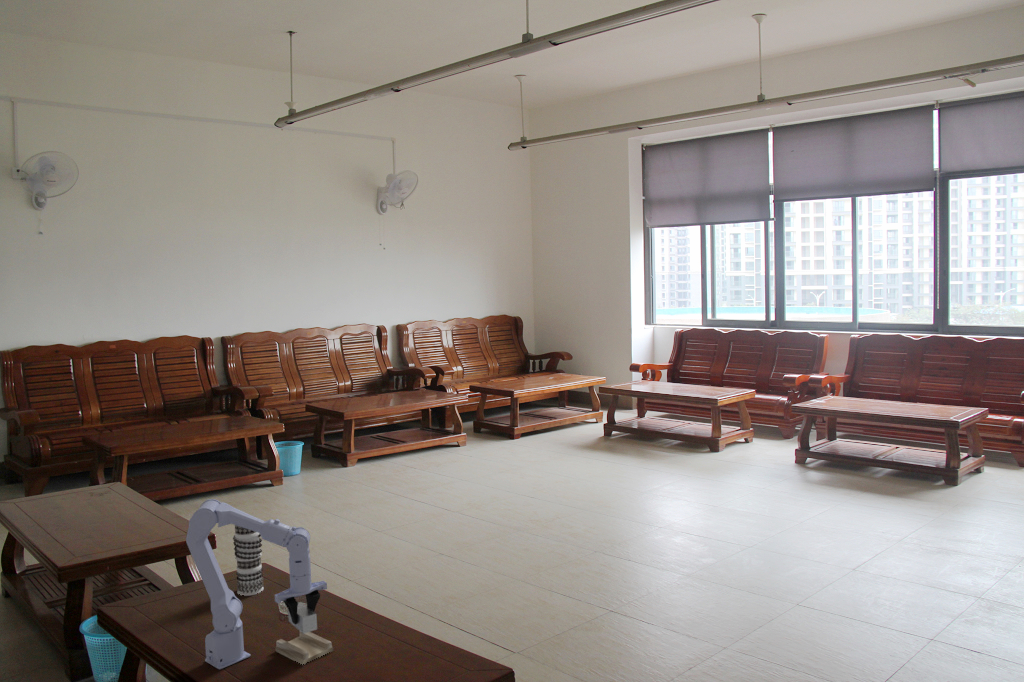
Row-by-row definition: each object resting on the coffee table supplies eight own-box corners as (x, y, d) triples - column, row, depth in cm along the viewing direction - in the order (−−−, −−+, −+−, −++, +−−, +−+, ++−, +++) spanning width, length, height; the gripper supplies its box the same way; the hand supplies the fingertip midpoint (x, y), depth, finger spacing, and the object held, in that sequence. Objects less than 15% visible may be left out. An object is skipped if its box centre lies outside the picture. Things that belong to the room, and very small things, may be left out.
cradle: (302, 665, 210) (302, 655, 210) (275, 651, 219) (275, 641, 219) (333, 651, 218) (332, 641, 218) (305, 637, 226) (305, 628, 226)
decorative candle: (249, 583, 268) (245, 512, 266) (270, 587, 265) (266, 515, 262) (230, 593, 260) (225, 520, 258) (251, 597, 256) (247, 523, 254)
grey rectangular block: (303, 633, 213) (302, 617, 212) (288, 621, 221) (287, 606, 220) (317, 629, 215) (316, 613, 215) (302, 617, 223) (301, 602, 223)
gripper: (318, 562, 224) (320, 608, 225) (269, 575, 215) (271, 623, 216) (329, 569, 219) (331, 616, 220) (279, 583, 210) (282, 632, 211)
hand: (302, 620), depth 218 cm, fingers closed on grey rectangular block, 4 cm apart
